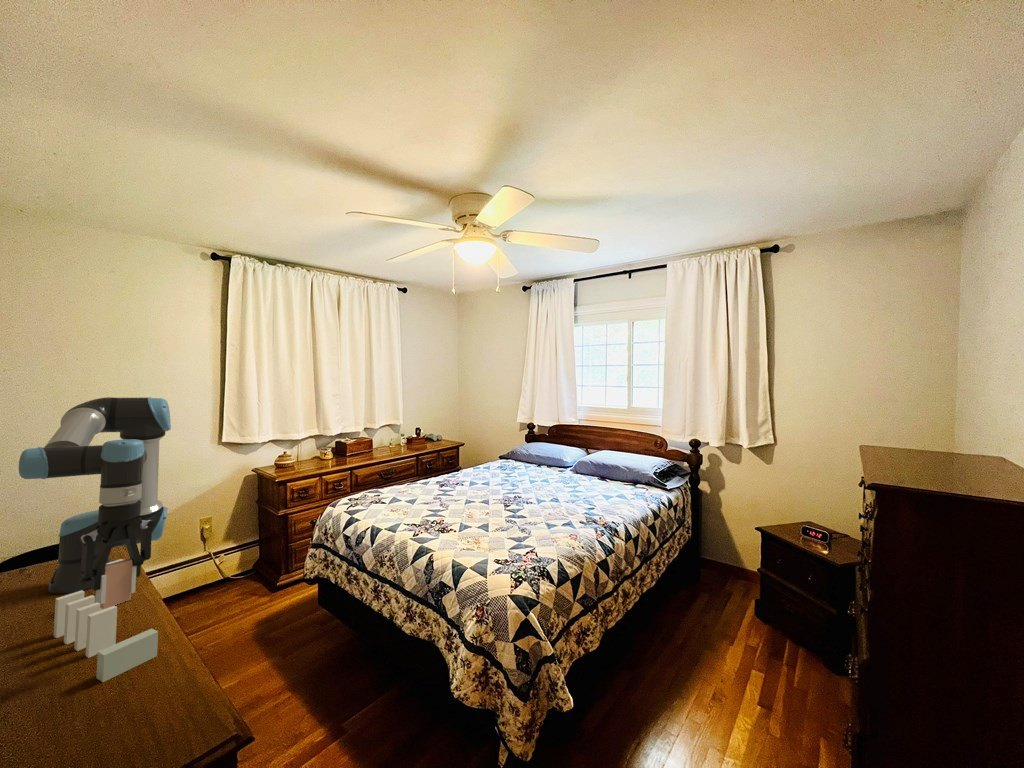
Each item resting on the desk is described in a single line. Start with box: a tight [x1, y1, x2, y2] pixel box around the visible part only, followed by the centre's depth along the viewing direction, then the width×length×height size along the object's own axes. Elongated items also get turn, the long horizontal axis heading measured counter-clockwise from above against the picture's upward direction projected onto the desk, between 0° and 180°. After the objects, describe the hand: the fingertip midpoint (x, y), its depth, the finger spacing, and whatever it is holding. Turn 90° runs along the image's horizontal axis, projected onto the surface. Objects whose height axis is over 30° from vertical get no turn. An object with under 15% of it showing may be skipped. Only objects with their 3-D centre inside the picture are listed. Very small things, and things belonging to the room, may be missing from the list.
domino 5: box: [85, 605, 118, 659], centre depth 100 cm, size 2×5×10 cm, turn 156°
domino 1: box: [53, 590, 86, 639], centre depth 107 cm, size 2×5×10 cm, turn 156°
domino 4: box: [100, 558, 132, 609], centre depth 98 cm, size 2×5×10 cm, turn 156°
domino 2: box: [63, 594, 96, 645], centre depth 105 cm, size 2×5×10 cm, turn 156°
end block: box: [95, 628, 159, 683], centre depth 94 cm, size 3×10×6 cm, turn 156°
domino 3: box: [73, 602, 103, 652], centre depth 102 cm, size 2×5×10 cm, turn 156°
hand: (115, 596), depth 98 cm, fingers closed on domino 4, 5 cm apart
